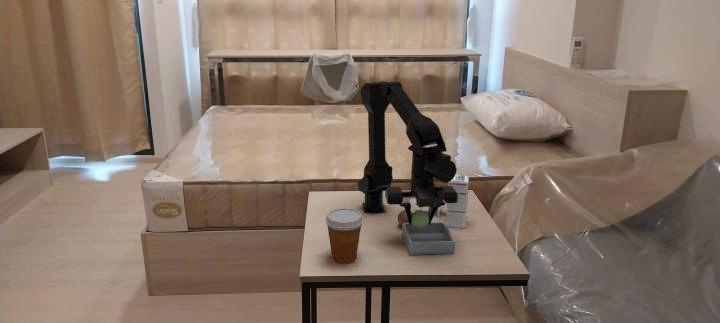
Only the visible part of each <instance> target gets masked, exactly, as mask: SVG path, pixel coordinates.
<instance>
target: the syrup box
mask: <svg viewBox="0 0 720 323" xmlns="http://www.w3.org/2000/svg"><path fill="white" fill-rule="evenodd" d="M469 177H470V176H469V175H468V174H459V173H456V175H455V177H454V178H453V179H452V180H451V181H450V182H447V186H452V187H453V188H454V189H455V191H456V192H457V194H458V202H457V203H447V204H446V213H445V215H446V217H445V224H446V225H447V227H449V228H450V227H451V228H459V229H465V228H466V224H467V213H468V199H469V179H470V178H469Z"/></svg>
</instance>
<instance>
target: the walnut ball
mask: <svg viewBox="0 0 720 323" xmlns="http://www.w3.org/2000/svg"><path fill="white" fill-rule="evenodd" d="M413 212H414V211H411V215H412V214H413ZM397 222H398V224H399V225H400V226H401V227H402V223H409V221H408V218H407V215H406V211H405V209H403V210H401V211H400V212H399V213H398V215H397Z"/></svg>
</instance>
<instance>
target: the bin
mask: <svg viewBox="0 0 720 323" xmlns="http://www.w3.org/2000/svg"><path fill="white" fill-rule="evenodd" d="M401 236H402V238H403V241H404V244H405V247H406V251H407V252H408V255H409V256H426V255H427V256H430V255H432V256H433V255H436V256H437V255H455V254H456V253H455V252H456V243H457V242H456V240H455V239H454V237H453V235H452V233H451V230H450V229H449V228H448V226H447V225H446V221H436V222H435V221H433V222H432V221H431V223H430V224H428V225H427V226H426V227H424V228H416V227H414V226H413V225H412V223H411V225H410V224H409V223H402V226H401Z"/></svg>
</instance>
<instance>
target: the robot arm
mask: <svg viewBox="0 0 720 323" xmlns="http://www.w3.org/2000/svg"><path fill="white" fill-rule="evenodd" d="M360 96H361V101H362V102H361V103H362V106H363V107H364V109H365V111H366V112H367V120H368V122H367V125H368V131H367V132H368V161H367V162H366V164H365V165H364V168H363V177H362V178H361V179H360V180H359V181H358V182H357V186H358V187H357V188H358V190H359V191H360V192H361V193H363V194H364V202H362V203H361V204H362V208H363V213H385V212H386V210H385V208H386V207H385V206H384V202H383V201H384V198H385V200H386V203H387V204H388V205H390V206H391V205H399V206H400V207H401V208H404V210H405V211H406V215H407V218H408V221H409V224H410V225H411V221H412V219H411V212H412V203H411V202H410V199H415V202H417V205H416V206H417V207H418V208H419V207H421V208H425V207H426V208H428V213H427V214H428V216H429V223H428V224H430V223H431V222H432V221H433V219H434V217H435V215H436V212H438V208H439V207H443V206H446V204H445V203H444V201H445V202H446V203H457V202H458V194H457V192H456V191H455V189H454V188H453V187H452V186H448V185H443V186H442V185H439V187H438V186H435V181H434V180H435V179H436V181H439V182H441V183H445V184H448V182H450V181H451V180H452V179H453V178H454V177H455V175H456V174H457V170H458V168H457V165H456V163H455V162H454V161H453V160H452V155H449V154H446V153H444V152H447V151H448V150H447V147H446V142H445V140H444V138H443V135H442V132H441V130H440V127H439V126H438V124H437V123H436V122H434V120H433V119H431V118H430V117H428V116H426V115H424V114H423V113H421V112H420V111H419V109H418V108H417V106H416V104H415V103H414V102H413V101H412V100H411V98H410V97H409V95H408V94H407V93H406V91H405V90H404V88H403V85H402V82H400V81H398V80H395V81H394V80H393V81H385V80H384V81H383V80H382V81H372V82H365V83H364V84H363V86H361V88H360ZM390 104H391V106H392V107H393V109H394V111H396V113H397V115H398V117H400V119H401V120H402V121H403V124H404V125H405V127H406V128H405V129H406V130H405V134H406V137H407V138H408V140H409V142H410V144H411V145H410V146H408V148H407V150H408V151H410V152H412V155H411V158H412V159H411V172H410V174H411V175H410V190H409V191H407V190H403V191H402V188H401V187H400V186H392V182H393V179H394V177H393V167H392V166H391V165H389V163H388V162H387V160H386V159H387V158H386V111H387V109H388V107H389V106H390Z"/></svg>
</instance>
